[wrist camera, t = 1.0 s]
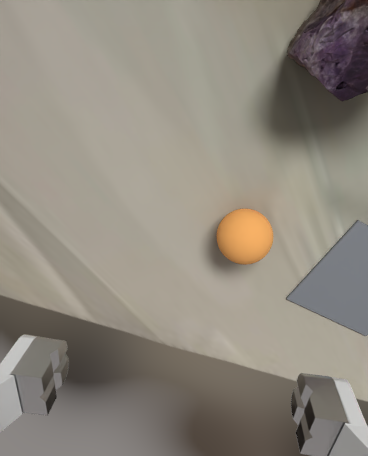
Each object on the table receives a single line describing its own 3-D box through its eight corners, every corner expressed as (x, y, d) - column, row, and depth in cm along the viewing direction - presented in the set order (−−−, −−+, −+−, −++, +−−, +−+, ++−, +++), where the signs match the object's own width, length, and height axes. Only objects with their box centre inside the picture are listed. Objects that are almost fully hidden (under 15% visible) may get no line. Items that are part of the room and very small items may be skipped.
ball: (206, 231, 35) (206, 261, 30) (233, 190, 33) (238, 215, 28) (249, 252, 36) (256, 284, 31) (278, 214, 34) (290, 242, 29)
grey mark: (286, 297, 39) (286, 299, 39) (357, 220, 33) (358, 220, 33) (365, 334, 41) (366, 336, 41) (444, 267, 36) (445, 268, 36)
